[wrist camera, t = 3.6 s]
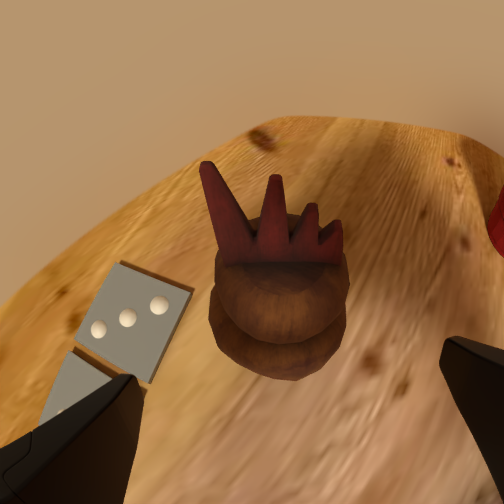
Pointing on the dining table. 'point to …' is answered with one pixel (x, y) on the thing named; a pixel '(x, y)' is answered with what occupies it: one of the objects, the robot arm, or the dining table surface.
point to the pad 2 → (72, 385)
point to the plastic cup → (497, 224)
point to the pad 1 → (133, 320)
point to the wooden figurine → (275, 282)
